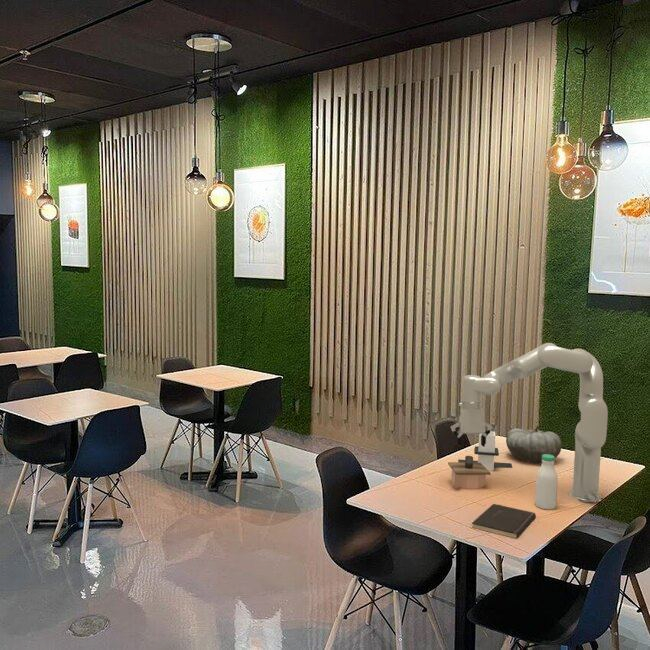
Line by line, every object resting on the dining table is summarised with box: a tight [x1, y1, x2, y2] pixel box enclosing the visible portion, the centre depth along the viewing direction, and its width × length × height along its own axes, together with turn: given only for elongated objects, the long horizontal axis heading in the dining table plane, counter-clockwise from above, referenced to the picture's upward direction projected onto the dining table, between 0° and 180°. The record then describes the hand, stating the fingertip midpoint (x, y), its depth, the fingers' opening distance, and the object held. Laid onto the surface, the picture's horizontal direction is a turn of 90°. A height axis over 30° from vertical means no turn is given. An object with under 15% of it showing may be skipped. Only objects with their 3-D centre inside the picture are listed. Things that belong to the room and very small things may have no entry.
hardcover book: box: [471, 503, 537, 539], centre depth 234 cm, size 16×23×2 cm
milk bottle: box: [534, 454, 559, 511], centre depth 250 cm, size 8×8×20 cm
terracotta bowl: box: [451, 469, 486, 490], centre depth 273 cm, size 13×13×7 cm
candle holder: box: [457, 430, 513, 472], centre depth 295 cm, size 25×24×16 cm
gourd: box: [505, 425, 563, 464], centre depth 312 cm, size 25×25×17 cm
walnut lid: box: [447, 455, 491, 476], centre depth 272 cm, size 14×14×5 cm
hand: (471, 446), depth 271 cm, fingers open, 9 cm apart
